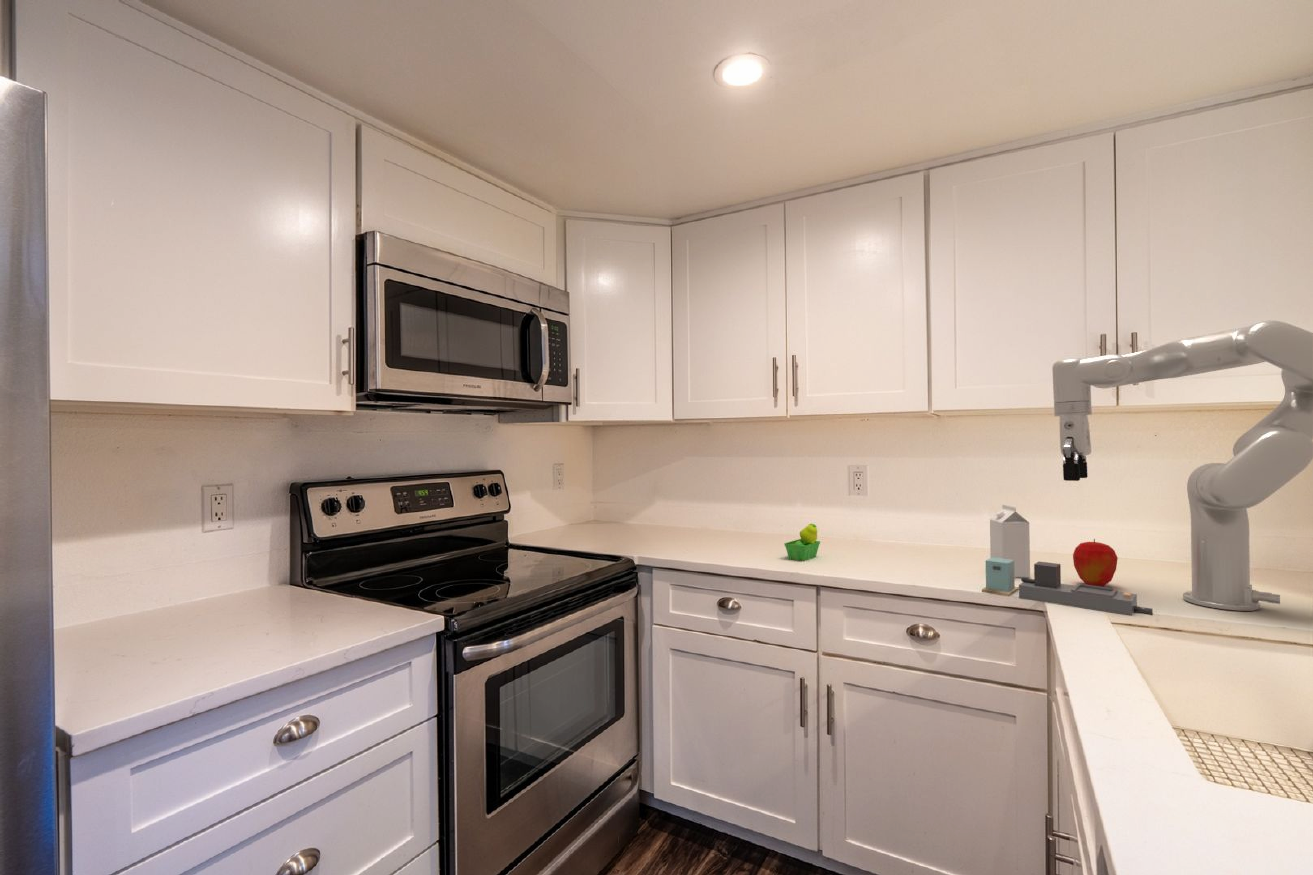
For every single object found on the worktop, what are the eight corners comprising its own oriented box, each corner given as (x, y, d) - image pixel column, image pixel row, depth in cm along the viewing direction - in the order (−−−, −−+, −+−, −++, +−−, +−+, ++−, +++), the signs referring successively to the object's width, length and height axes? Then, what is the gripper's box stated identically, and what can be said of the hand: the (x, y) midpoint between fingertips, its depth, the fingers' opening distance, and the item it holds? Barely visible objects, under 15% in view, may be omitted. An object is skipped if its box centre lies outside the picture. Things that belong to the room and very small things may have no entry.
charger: (1014, 588, 146) (1014, 560, 146) (1008, 592, 143) (1007, 563, 143) (992, 584, 150) (991, 557, 150) (985, 588, 146) (985, 560, 146)
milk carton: (1016, 572, 166) (1015, 504, 166) (1030, 578, 159) (1029, 507, 159) (990, 571, 167) (989, 504, 167) (1002, 577, 160) (1001, 507, 160)
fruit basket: (800, 553, 196) (799, 519, 196) (825, 557, 191) (824, 522, 191) (783, 559, 188) (782, 523, 188) (809, 563, 182) (808, 526, 182)
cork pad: (1018, 589, 147) (1018, 587, 147) (1009, 596, 142) (1009, 593, 142) (992, 585, 152) (992, 583, 152) (982, 591, 146) (982, 589, 146)
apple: (1124, 591, 144) (1123, 542, 144) (1080, 588, 147) (1079, 540, 147) (1109, 582, 153) (1109, 536, 153) (1068, 580, 156) (1068, 534, 156)
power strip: (1154, 610, 129) (1153, 573, 129) (1150, 618, 123) (1149, 580, 123) (1025, 590, 146) (1025, 558, 146) (1016, 597, 141) (1016, 563, 141)
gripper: (1084, 407, 136) (1088, 482, 136) (1097, 409, 149) (1100, 477, 149) (1046, 410, 142) (1049, 481, 142) (1061, 411, 154) (1064, 476, 154)
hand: (1075, 479), depth 145 cm, fingers open, 9 cm apart
